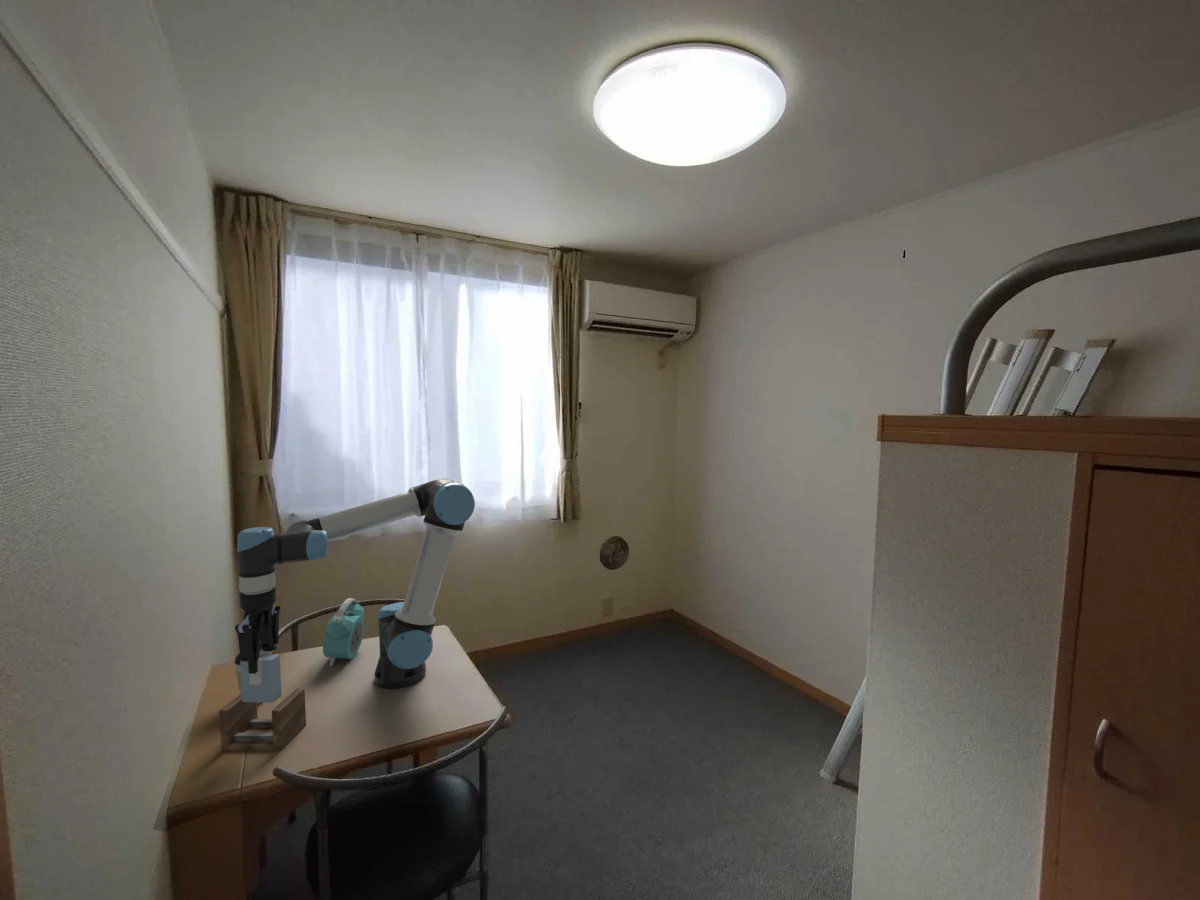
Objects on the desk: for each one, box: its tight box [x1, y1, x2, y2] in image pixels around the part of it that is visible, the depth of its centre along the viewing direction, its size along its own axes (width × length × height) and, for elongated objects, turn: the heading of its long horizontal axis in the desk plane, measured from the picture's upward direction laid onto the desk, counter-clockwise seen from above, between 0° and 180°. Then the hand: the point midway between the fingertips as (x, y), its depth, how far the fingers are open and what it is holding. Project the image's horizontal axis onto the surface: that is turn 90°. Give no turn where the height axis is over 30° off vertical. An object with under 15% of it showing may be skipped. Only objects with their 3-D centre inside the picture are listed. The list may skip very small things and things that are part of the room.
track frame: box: [218, 687, 307, 751], centre depth 127 cm, size 15×10×10 cm, turn 89°
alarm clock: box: [322, 597, 365, 667], centre depth 168 cm, size 17×10×20 cm, turn 5°
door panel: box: [240, 653, 282, 703], centre depth 126 cm, size 8×3×11 cm, turn 89°
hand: (261, 679), depth 126 cm, fingers closed on door panel, 3 cm apart
